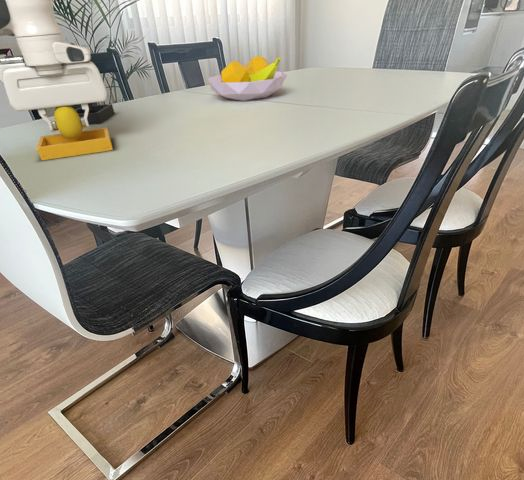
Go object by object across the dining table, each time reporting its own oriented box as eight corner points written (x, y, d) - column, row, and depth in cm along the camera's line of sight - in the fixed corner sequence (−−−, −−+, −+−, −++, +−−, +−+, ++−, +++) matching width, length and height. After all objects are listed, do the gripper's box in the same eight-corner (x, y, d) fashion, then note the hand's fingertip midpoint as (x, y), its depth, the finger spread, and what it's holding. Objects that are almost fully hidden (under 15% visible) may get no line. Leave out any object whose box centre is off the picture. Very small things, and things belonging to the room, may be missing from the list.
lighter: (90, 124, 120) (84, 107, 119) (96, 123, 121) (90, 106, 120) (87, 112, 113) (80, 93, 112) (94, 111, 113) (88, 92, 112)
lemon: (63, 146, 88) (48, 105, 83) (62, 141, 92) (48, 102, 86) (88, 142, 89) (75, 102, 84) (86, 137, 93) (73, 98, 88)
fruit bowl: (199, 97, 137) (194, 57, 130) (267, 87, 145) (266, 49, 137) (227, 109, 118) (222, 63, 110) (304, 97, 126) (305, 54, 118)
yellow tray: (41, 160, 86) (36, 147, 84) (45, 148, 94) (40, 136, 92) (113, 150, 89) (109, 137, 87) (110, 139, 97) (107, 127, 96)
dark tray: (101, 123, 113) (98, 112, 111) (69, 125, 113) (65, 115, 112) (114, 113, 123) (112, 104, 121) (85, 115, 123) (82, 105, 122)
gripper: (-13, 59, 75) (21, 138, 84) (95, 50, 79) (116, 125, 89) (-7, 57, 80) (24, 132, 89) (95, 48, 84) (114, 120, 93)
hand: (70, 128), depth 89 cm, fingers closed on lemon, 5 cm apart
